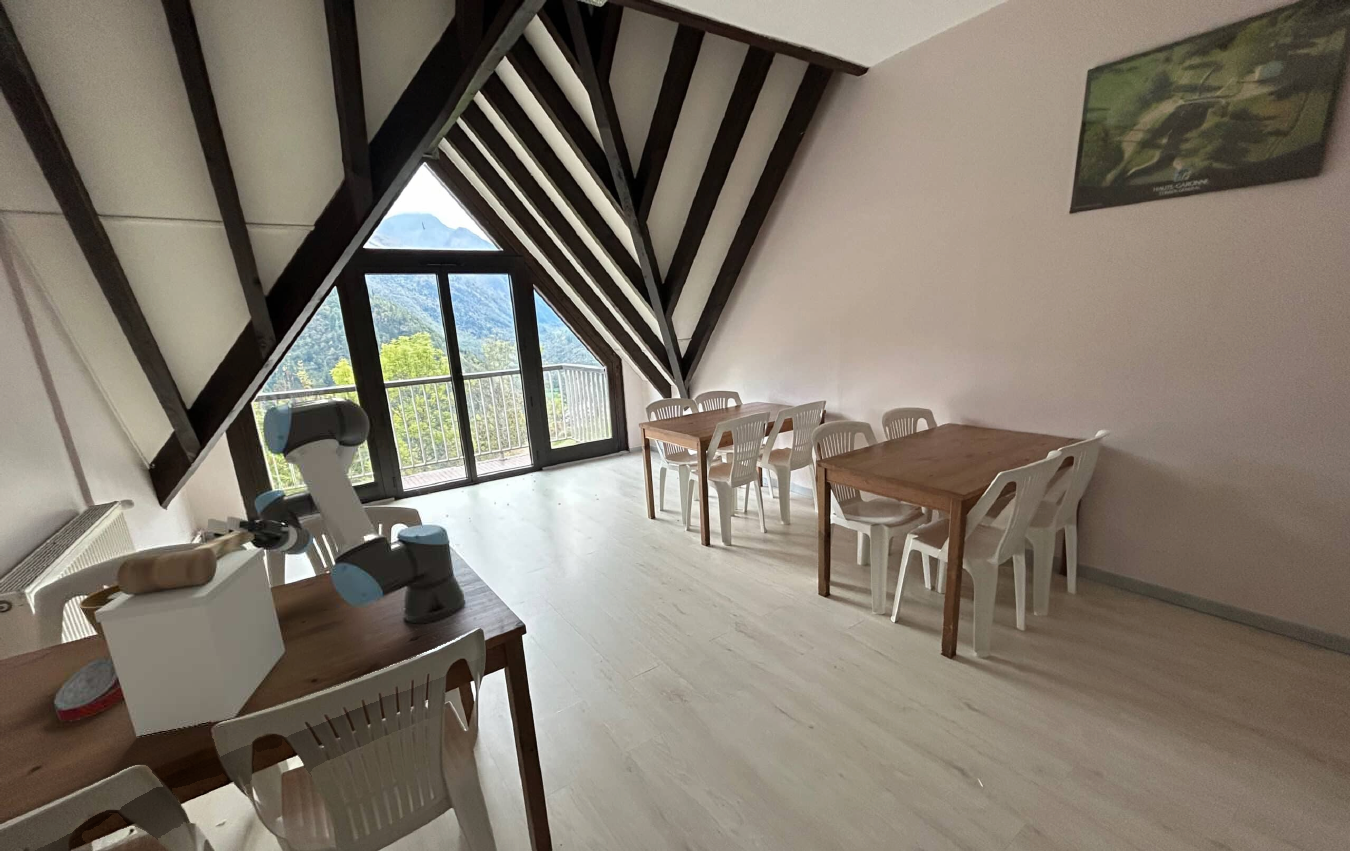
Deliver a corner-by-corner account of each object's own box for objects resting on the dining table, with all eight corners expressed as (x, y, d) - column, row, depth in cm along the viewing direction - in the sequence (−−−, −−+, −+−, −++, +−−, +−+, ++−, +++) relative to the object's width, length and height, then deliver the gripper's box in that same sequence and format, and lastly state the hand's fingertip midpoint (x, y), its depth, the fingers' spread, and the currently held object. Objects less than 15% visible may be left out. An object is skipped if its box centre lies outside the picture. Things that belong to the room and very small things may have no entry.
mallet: (196, 589, 99) (190, 554, 98) (120, 600, 96) (114, 564, 95) (276, 543, 128) (272, 516, 127) (220, 551, 125) (215, 523, 125)
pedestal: (237, 717, 103) (204, 595, 97) (133, 738, 98) (93, 612, 93) (287, 650, 123) (263, 547, 118) (204, 665, 119) (175, 559, 114)
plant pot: (197, 634, 132) (182, 578, 129) (122, 672, 118) (103, 610, 115) (159, 627, 136) (143, 572, 133) (83, 663, 122) (63, 603, 119)
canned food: (132, 713, 112) (134, 683, 108) (61, 741, 103) (61, 709, 100) (117, 676, 116) (118, 645, 113) (48, 700, 108) (47, 668, 104)
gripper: (306, 545, 139) (259, 534, 117) (237, 555, 135) (175, 545, 113) (308, 518, 141) (261, 502, 120) (240, 526, 137) (179, 512, 116)
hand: (219, 523), depth 117 cm, fingers closed on mallet, 3 cm apart
